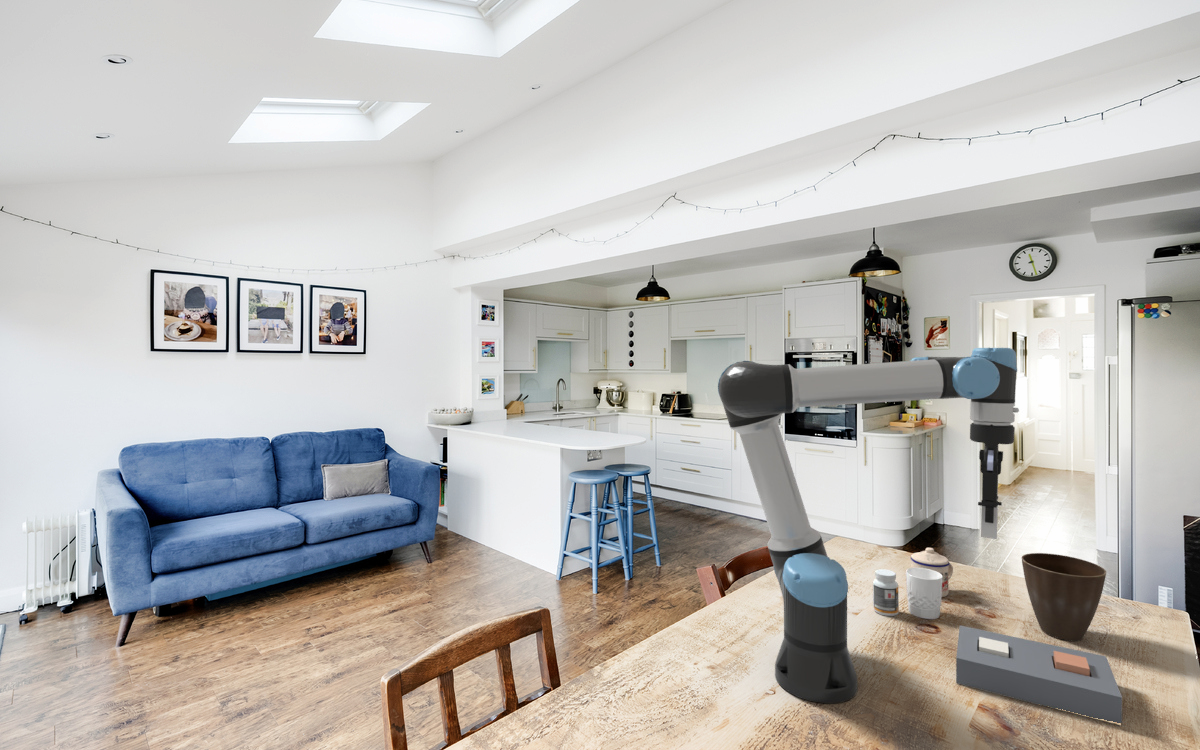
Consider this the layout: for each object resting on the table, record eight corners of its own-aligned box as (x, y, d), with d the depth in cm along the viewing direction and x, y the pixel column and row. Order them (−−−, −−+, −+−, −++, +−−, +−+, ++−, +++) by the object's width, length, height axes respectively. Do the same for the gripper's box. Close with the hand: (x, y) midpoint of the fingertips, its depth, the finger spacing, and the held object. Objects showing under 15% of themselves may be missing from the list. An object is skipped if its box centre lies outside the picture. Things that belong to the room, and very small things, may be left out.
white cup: (909, 603, 147) (909, 565, 146) (945, 612, 142) (945, 572, 141) (902, 614, 140) (902, 574, 140) (939, 623, 135) (939, 582, 135)
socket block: (1121, 726, 97) (1122, 697, 97) (956, 683, 111) (956, 657, 111) (1105, 681, 111) (1106, 656, 110) (959, 647, 124) (959, 625, 124)
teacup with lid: (929, 600, 149) (929, 555, 148) (902, 586, 157) (902, 544, 157) (966, 594, 152) (966, 551, 151) (937, 581, 160) (938, 540, 160)
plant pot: (1048, 614, 139) (1049, 549, 139) (1121, 642, 125) (1122, 570, 125) (1005, 624, 134) (1006, 557, 134) (1077, 655, 120) (1078, 580, 120)
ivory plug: (1008, 682, 111) (1008, 653, 111) (978, 675, 113) (978, 646, 113) (1007, 671, 115) (1007, 643, 115) (979, 664, 117) (979, 636, 117)
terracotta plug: (1089, 700, 104) (1089, 669, 104) (1055, 692, 107) (1056, 661, 107) (1085, 687, 108) (1085, 657, 108) (1053, 680, 111) (1053, 650, 111)
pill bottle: (903, 616, 139) (903, 576, 139) (879, 616, 139) (879, 576, 139) (891, 606, 145) (891, 568, 145) (868, 606, 145) (868, 568, 145)
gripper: (1014, 427, 109) (1011, 549, 110) (1014, 421, 120) (1011, 532, 121) (968, 424, 114) (964, 541, 114) (972, 419, 124) (969, 526, 125)
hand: (988, 537), depth 118 cm, fingers closed
